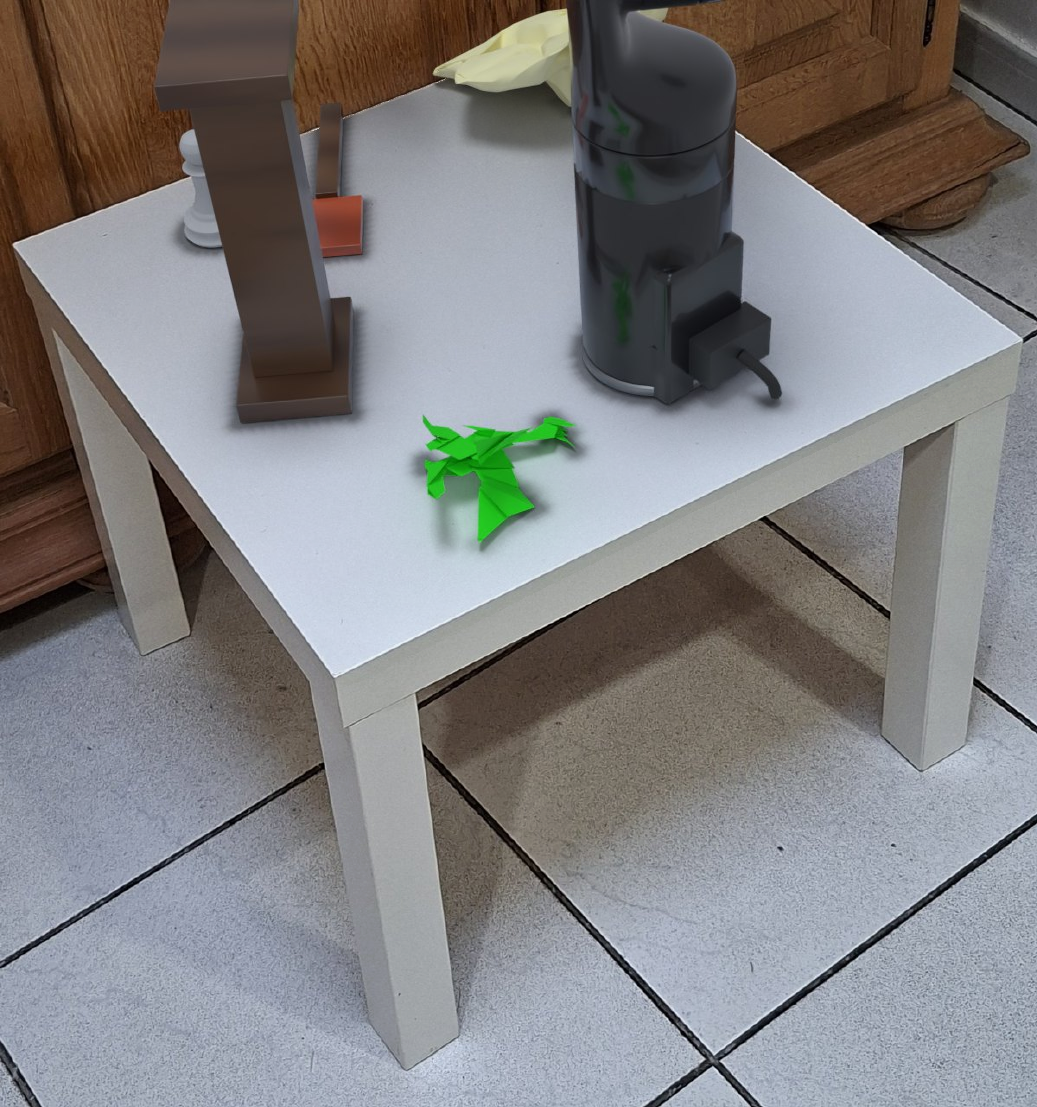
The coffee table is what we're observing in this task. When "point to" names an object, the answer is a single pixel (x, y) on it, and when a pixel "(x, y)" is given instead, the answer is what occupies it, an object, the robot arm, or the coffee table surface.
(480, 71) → the cloth
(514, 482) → the figurine
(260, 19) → the wooden pedestal stand
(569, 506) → the coffee table surface
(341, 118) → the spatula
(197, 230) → the chess piece
